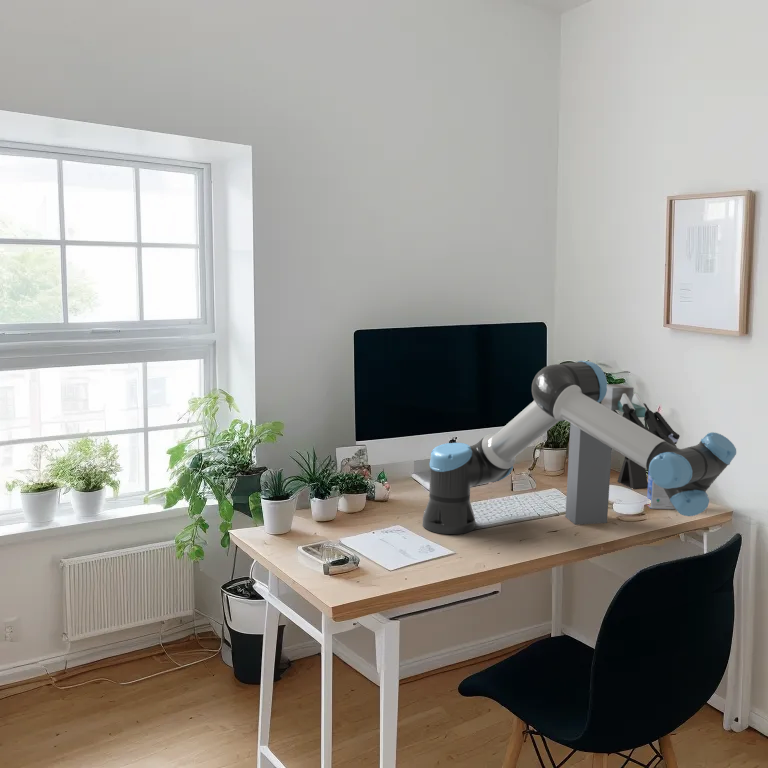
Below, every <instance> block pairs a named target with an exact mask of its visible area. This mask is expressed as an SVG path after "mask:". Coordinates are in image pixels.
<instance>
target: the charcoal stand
mask: <svg viewBox="0 0 768 768" xmlns="http://www.w3.org/2000/svg"><path fill="white" fill-rule="evenodd" d="M569 423H570V422H569ZM569 425H570V426H569V427H570V428H569V442H568V443H569V445H568V464H567V465H568V466H567V480H566V481H567V482H566V497H565V498H566V499H565V500H566V503H565V518H567V519H568V520H569V521H570V522H572V523H573V524H574V525H591V524H592V525H593V524H594V525H595V524H607V523H608V517H609V516H608V513H609V512H608V511H609V498H610V484H611V483H610V481H611V467H612V466H611V464H612V450H613V449H612V448H611V447H609V446H607V445H606V444H604V443H602V442H601V441H599V440H598V439H596V438H594V437H593V436H591V435H589V434H588V433H586V432H584V431H583V430H581V429H579V428H578V427H576V426H575V425H573V424H571V423H570V424H569Z"/></svg>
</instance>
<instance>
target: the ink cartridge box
mask: <svg viewBox="0 0 768 768" xmlns="http://www.w3.org/2000/svg"><path fill="white" fill-rule="evenodd" d="M647 471H648V470H647ZM647 475H648V476H647V482H648V488H647V496H646V499H647V498H648V499H650V500H651V503H650V504H649V505H647V506H648V508H649V509H652V510H655V509H657V510H663V509H664V510H665V509H666V510H676V509H675V507H674V506H673V504H672V503H671V502H670V499H669V497H668V495H667V493H666V492H665V490H664V488H662V487H659V486H658V485H656V484H655V483H654V481H653V480H652V478H651V477H650V474H649V471H648V474H647Z"/></svg>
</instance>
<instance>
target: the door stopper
mask: <svg viewBox="0 0 768 768" xmlns="http://www.w3.org/2000/svg"><path fill="white" fill-rule="evenodd" d="M647 475H648V474H647V469H645V468H643V467H642V466H640V465H638V464H637V463H635V462H634V461H632V460H630V459H629V458H627V457H625V456H624V460H623V463H622V465H621V469H620V472H619V474H618V478H617V483H618V484H620V483H621V485H623V486H625V487H627V488H630V489H632V488H633V489H632V490H637V489H646V488H647V489H648V476H647Z"/></svg>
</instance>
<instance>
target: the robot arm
mask: <svg viewBox="0 0 768 768" xmlns="http://www.w3.org/2000/svg"><path fill="white" fill-rule="evenodd" d="M607 384H608V381H607V376H606V374H605V372H604V371H603V369H602V367H601V366H599V365H598V364H596V363H595V362H593V361H588V360H587V361H585V360H579V361H576V362H566V363H559V364H557V363H556V364H555V363H554V364H549V365H547V366H544V367H543V368H541V370H539V371H538V372H537V373H536V374H535V376H534V378H533V380H532V383H531V395H532V398H533V401H532V402H530V403H529V404H528V405H527V406H526V407H525V408H524V409H522V411H520V412H519V413H518V414H517V415H516V416H514V418H512V419H511V420H510V421H508V423H506V425H504V426H503V427H502V428H501V429H500V430H499V431H497V432H496V433H493V432H492V433H488V434H486V435H485V436H484V437H483V438H481V439H480V440H479V441H478V442H477V443H475V444H472V445H469V444H467V443H464V442H452V443H451V442H445V443H442V444H439V445H437V446H435V447H434V448H433V449H432V450H431V453H430V460H429V498H428V502H427V504H426V506H425V511H424V513H423V516H422V527H423V528H425V530H428V531H430V532H433V533H436V534H441V535H442V534H443V535H460V534H467V533H470V532H472V531H473V530H474V529H475V528H476V517H475V514H474V510H473V506H472V503H471V488H472V487H476V486H479V485H480V486H481V485H484V484H489V483H496V482H500V481H502V480H504V479H506V478H507V477H509V475H510V474H511V473H512V471H513V469H514V465H515V463H516V457H517V456H518V455H519V454H522V452H523V451H525V450H526V449H527V448H528V447H530V446H531V445H532V444H533V443H535V441H537V440H538V439H540V438H541V436H543V435H544V434H545V433H547V432H548V431H549V430H551V428H553V427H554V426H555V425H557V424H558V422H563V421H567V422H568V423H571V424H573V425H575V426H576V427H578V428H579V429H581V430H583V431H584V432H586V433H588V434H589V435H591V436H593V437H594V438H596V439H598V440H599V441H601V442H602V443H604V444H606V445H607V446H609V447H611V448H612V450H614V451H616V452H618V453H619V454H621V455H622V456H624V458H625V457H627V458H629V459H630V460H632V461H634V462H635V463H637V464H638V465H640V466H642V467H643V468H645V469H646V471H649V474H650V477H651V478H652V480H653V481H654V483H655V484H656V485H658V486H659V487H662V488H664V490H665V492H666V493H667V495H668V497H669V499H670V502H671V503H672V504H673V506H674V507H675V509H674V510H675V511H677V513H678V514H680V515H682V516H685V517H693V516H694V517H695V516H697V515H700V514H702V513H703V512H704V511H705V510H707V508H708V507H709V504H710V499H709V495H708V493H707V491H708V489H709V488H711V485H712V484H714V481H716V480H717V478H719V476H720V475H721V474H722V473H723V471H724V470H725V469H726V468H727V467H728V466H730V465H731V462H732V460H733V459H734V458H735V456H737V448H736V445H734V443H733V442H732V441H731V439H729V438H728V437H726V436H724V435H723V434H721V433H718V432H713V431H712V432H708V433H707V434H706V435H705V436H704V437H702V438H701V439H700V442H699V443H698V444H696V445H692V446H688V447H685V448H684V447H683V448H679V447H677V443H678V442H679V440H680V436H681V435H680V434H678V432H676V431H674V429H673V428H672V427H671V425H669V423H668V422H667V421H666V419H665V418H664V416H663V415H662V414H661V413H660V412H659V411H654V412H653V411H652V410H650V409H649V407H648V405H647V404H646V403H644V402H643V400H642V399H641V398H640V396H639V394H638V393H636V392H635V393H634V392H633V398H632V401H631V402H632V403H634V404H637V405H639V406H642V407H645V417H643V418H644V419H643V421H645V422H646V426H647V427H646V426H645V425H644V424H643V422H642V420H640V417H637V416H636V414H635V413H634V412H635V408H634V407H633V405H632V403H631V402H630V400H629V398H628V397H627V395H626V393H624V394H623V395H622V397H621V400H620V402H621V404H622V406H623V407H622V410H623V412H624V413H623V412H622V413H623V414H622V415H621V414H619V413H617V412H616V411H615V410H610V409H609V408H607V407H605V406H603V405H602V404H601V402H602V400H603V399H604V397H605V395H606V392H607Z"/></svg>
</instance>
